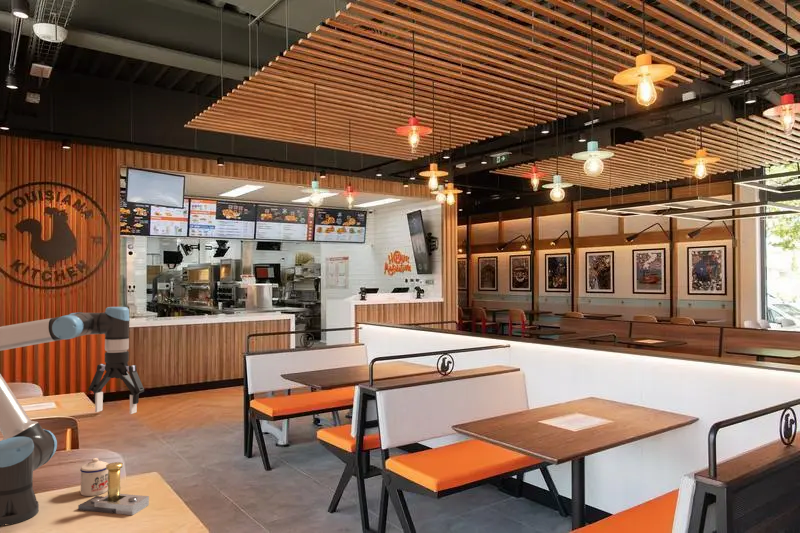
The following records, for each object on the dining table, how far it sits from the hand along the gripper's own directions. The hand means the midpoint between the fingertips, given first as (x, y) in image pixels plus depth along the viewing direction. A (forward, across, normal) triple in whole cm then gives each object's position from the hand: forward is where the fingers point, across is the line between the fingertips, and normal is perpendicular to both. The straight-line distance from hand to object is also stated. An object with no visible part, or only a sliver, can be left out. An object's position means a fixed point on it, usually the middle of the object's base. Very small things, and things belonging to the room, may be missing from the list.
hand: (115, 412), depth 195 cm
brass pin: (+29, -7, +9) cm, 31 cm away
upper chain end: (+29, -10, +9) cm, 32 cm away
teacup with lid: (+29, +9, -3) cm, 30 cm away
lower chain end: (+29, -4, +9) cm, 30 cm away
